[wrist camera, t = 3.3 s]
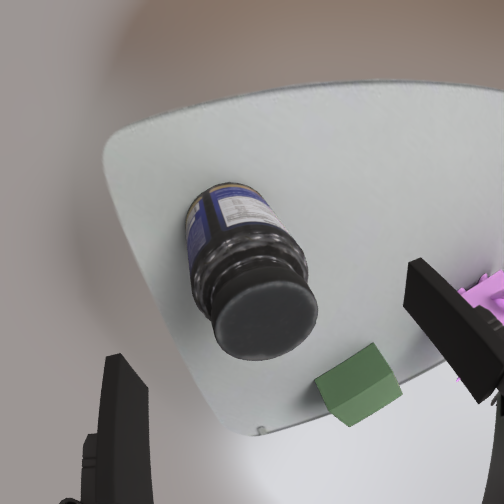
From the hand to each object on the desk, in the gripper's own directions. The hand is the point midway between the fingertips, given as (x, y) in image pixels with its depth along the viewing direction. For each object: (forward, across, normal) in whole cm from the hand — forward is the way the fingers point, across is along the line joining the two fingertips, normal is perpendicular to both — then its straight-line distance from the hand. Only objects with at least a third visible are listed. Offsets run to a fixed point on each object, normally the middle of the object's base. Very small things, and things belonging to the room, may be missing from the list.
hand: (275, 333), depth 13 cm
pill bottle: (+12, 0, 0) cm, 12 cm away
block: (+12, +10, -26) cm, 30 cm away
